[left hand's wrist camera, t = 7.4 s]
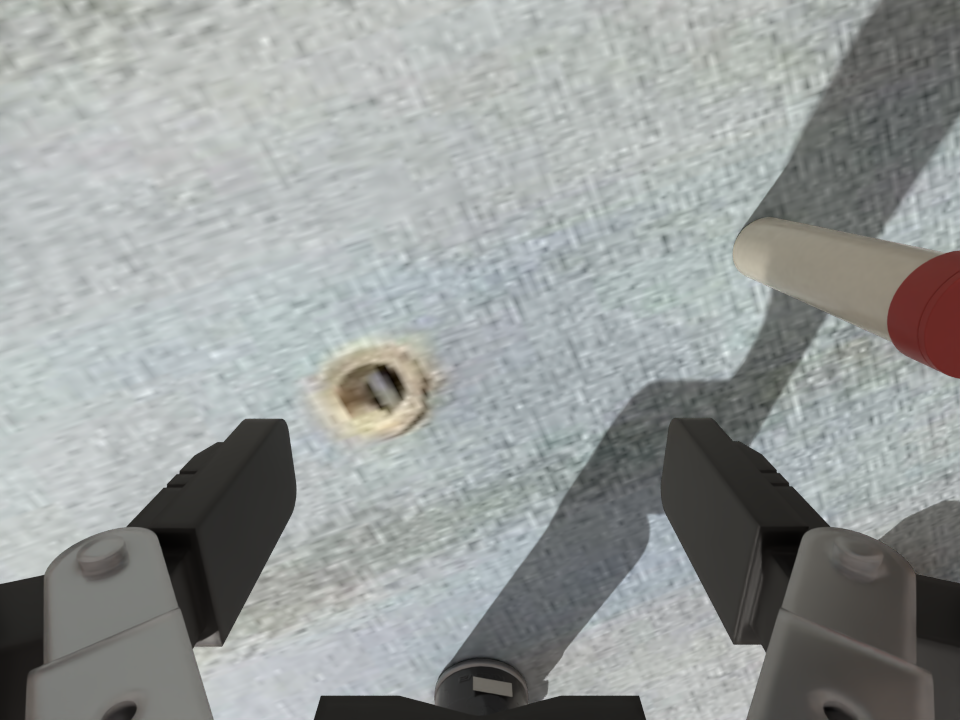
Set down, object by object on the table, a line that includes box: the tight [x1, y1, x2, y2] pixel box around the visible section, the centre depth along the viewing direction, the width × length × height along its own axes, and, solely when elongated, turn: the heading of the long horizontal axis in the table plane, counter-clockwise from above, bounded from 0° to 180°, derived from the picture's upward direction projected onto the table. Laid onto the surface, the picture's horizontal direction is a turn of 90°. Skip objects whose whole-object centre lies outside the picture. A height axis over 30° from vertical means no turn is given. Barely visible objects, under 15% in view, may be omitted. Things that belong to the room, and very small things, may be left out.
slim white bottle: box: [733, 217, 945, 342], centre depth 30 cm, size 4×4×18 cm
